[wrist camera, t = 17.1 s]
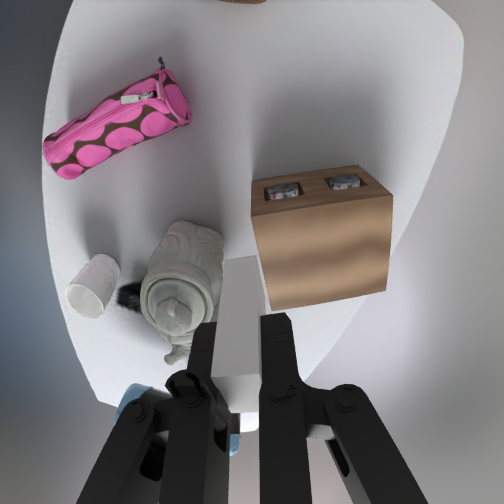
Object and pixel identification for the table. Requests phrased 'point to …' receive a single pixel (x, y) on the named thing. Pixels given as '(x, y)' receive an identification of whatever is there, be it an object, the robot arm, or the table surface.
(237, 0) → the block
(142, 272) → the table surface
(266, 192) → the walnut block
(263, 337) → the robot arm
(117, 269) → the white cup
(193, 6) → the table surface
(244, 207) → the table surface
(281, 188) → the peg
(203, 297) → the teapot
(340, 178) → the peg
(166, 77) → the pencil case
